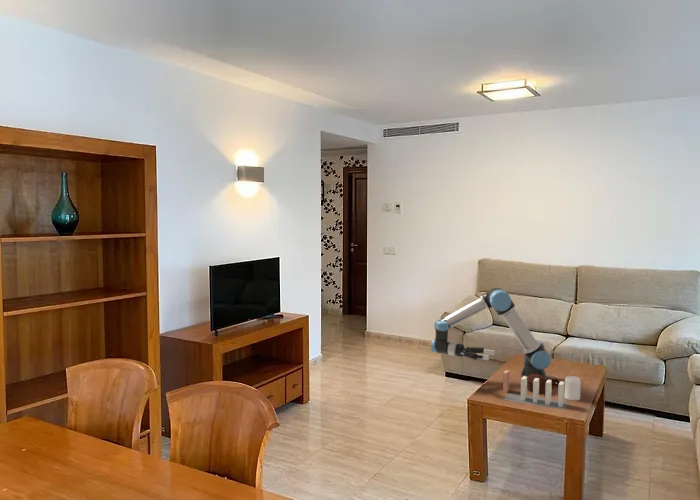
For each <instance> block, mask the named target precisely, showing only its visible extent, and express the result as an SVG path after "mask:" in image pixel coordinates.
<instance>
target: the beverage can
mask: <svg viewBox="0 0 700 500" xmlns="http://www.w3.org/2000/svg"><path fill="white" fill-rule="evenodd" d="M581 385H582V383H581V379H580V377H578V376H575V375H568V376H566V377H565V379H564V399H566V400H569V401H580V400H581V387H582V386H581Z"/></svg>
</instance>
